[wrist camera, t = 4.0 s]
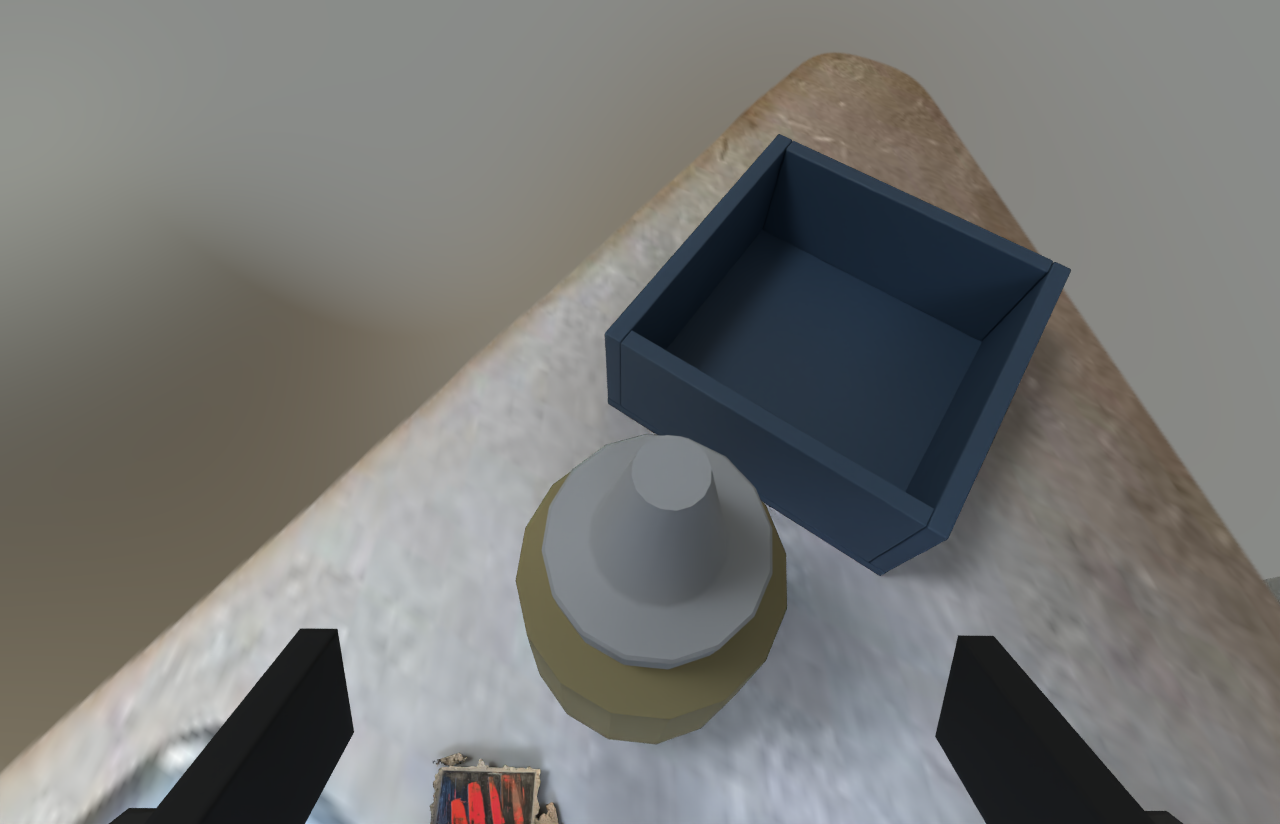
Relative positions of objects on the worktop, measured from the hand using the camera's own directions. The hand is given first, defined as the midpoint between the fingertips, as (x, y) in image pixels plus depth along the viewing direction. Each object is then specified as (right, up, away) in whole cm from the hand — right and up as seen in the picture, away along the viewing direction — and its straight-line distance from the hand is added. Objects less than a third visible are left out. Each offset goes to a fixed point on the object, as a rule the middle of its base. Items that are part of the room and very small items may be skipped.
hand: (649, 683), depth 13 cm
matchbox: (-5, -9, +9) cm, 14 cm away
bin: (+8, +8, +18) cm, 21 cm away
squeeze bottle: (0, -3, +12) cm, 12 cm away
